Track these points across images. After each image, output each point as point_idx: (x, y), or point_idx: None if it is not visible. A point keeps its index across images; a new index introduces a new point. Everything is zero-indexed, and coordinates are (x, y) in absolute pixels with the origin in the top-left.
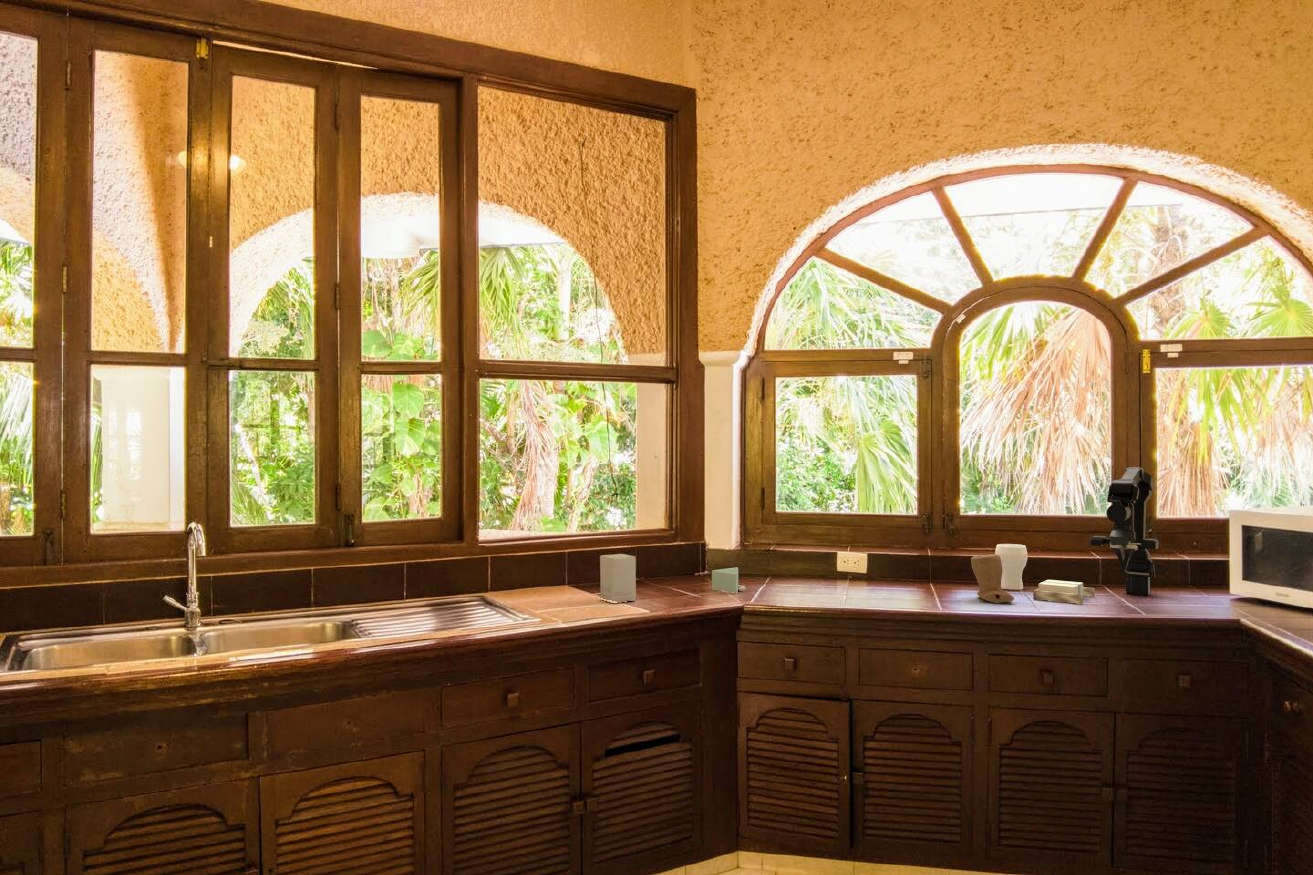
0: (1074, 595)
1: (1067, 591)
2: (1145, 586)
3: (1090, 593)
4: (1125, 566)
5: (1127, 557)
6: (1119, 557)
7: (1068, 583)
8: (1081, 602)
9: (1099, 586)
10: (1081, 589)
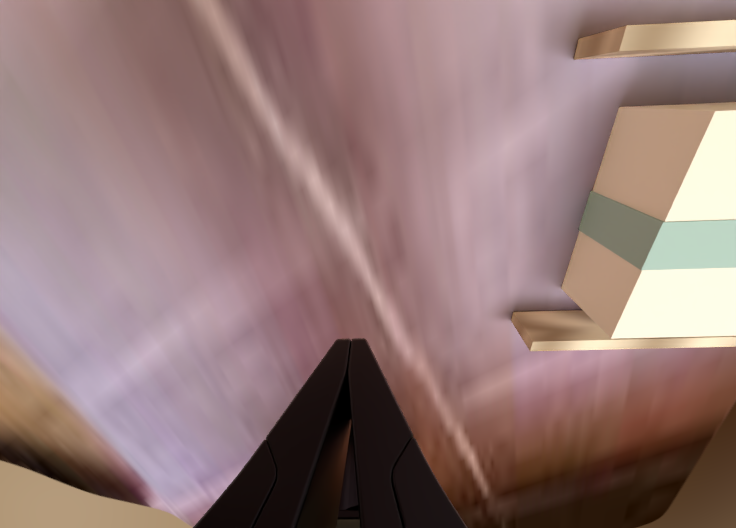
0: (678, 25)
1: (728, 107)
2: (345, 466)
3: (536, 322)
4: (325, 363)
5: (248, 485)
6: (399, 474)
7: (721, 256)
8: (591, 36)
9: (502, 492)
10: (599, 286)
